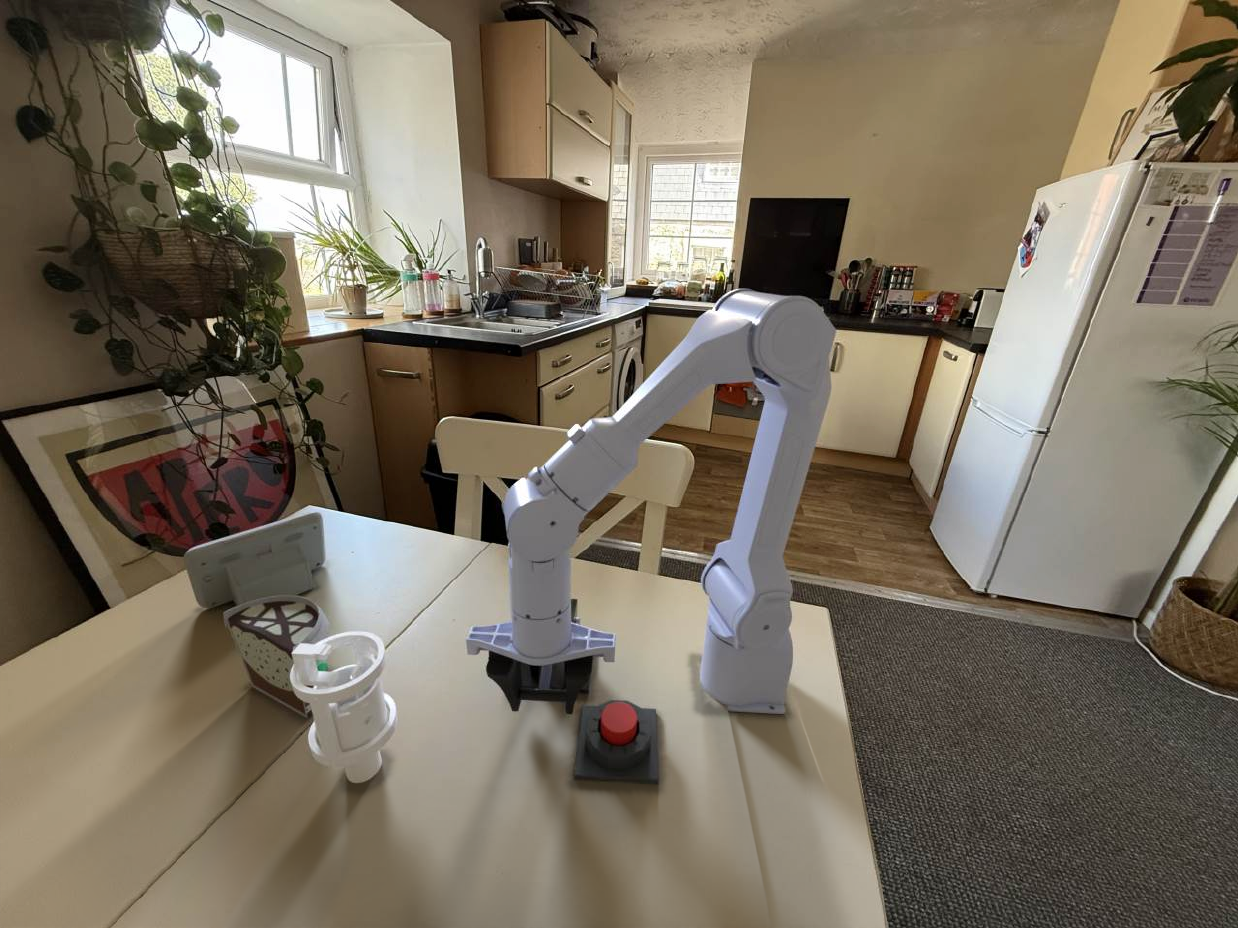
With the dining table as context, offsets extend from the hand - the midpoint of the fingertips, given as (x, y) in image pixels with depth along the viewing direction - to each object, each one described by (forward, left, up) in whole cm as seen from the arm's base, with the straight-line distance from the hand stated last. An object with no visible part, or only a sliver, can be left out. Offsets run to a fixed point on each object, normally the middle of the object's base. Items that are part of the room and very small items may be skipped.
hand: (544, 704), depth 52 cm
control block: (-8, +3, -2) cm, 9 cm away
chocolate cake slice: (+28, -3, -2) cm, 28 cm away
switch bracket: (0, -7, -2) cm, 8 cm away
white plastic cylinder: (+16, +7, -2) cm, 18 cm away
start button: (-8, +3, 0) cm, 8 cm away
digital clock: (+43, -19, -2) cm, 47 cm away
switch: (0, -5, +2) cm, 5 cm away
